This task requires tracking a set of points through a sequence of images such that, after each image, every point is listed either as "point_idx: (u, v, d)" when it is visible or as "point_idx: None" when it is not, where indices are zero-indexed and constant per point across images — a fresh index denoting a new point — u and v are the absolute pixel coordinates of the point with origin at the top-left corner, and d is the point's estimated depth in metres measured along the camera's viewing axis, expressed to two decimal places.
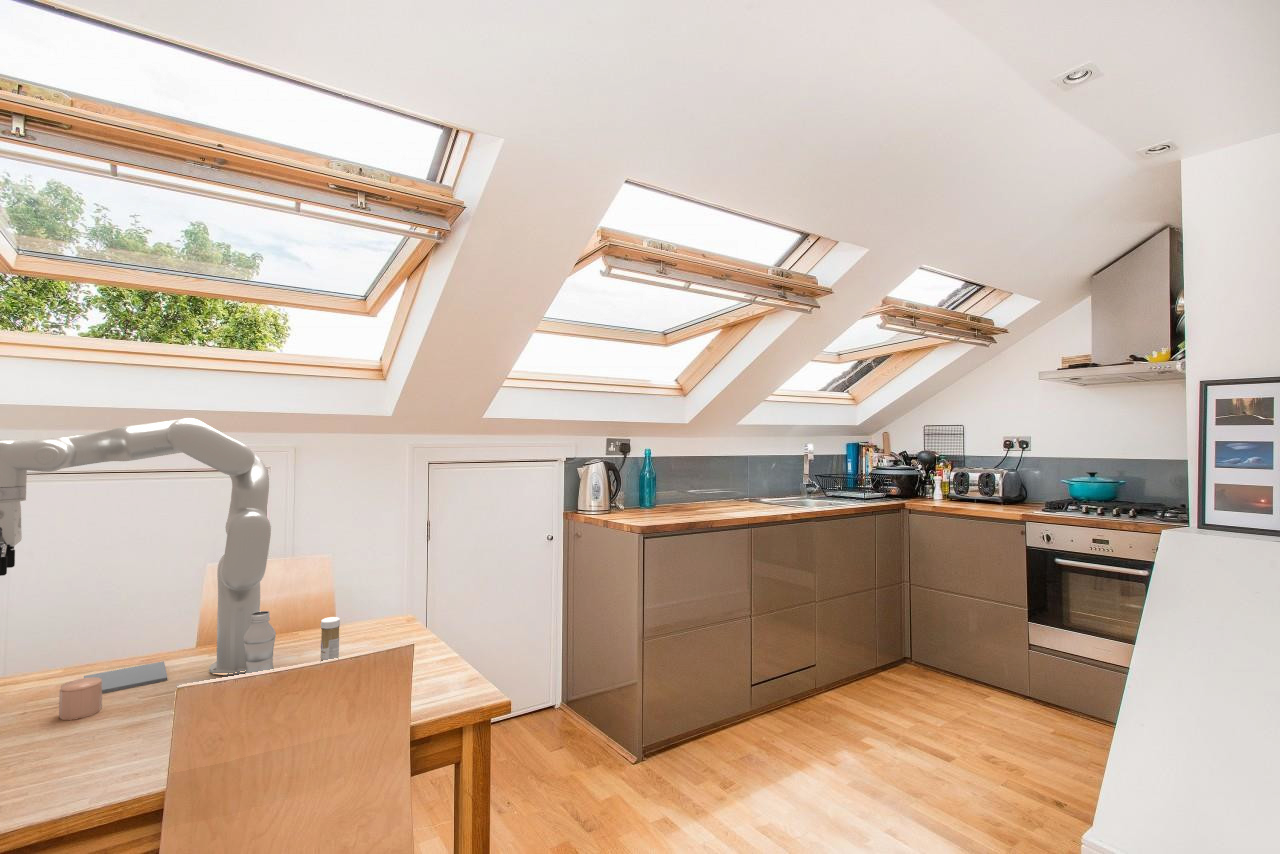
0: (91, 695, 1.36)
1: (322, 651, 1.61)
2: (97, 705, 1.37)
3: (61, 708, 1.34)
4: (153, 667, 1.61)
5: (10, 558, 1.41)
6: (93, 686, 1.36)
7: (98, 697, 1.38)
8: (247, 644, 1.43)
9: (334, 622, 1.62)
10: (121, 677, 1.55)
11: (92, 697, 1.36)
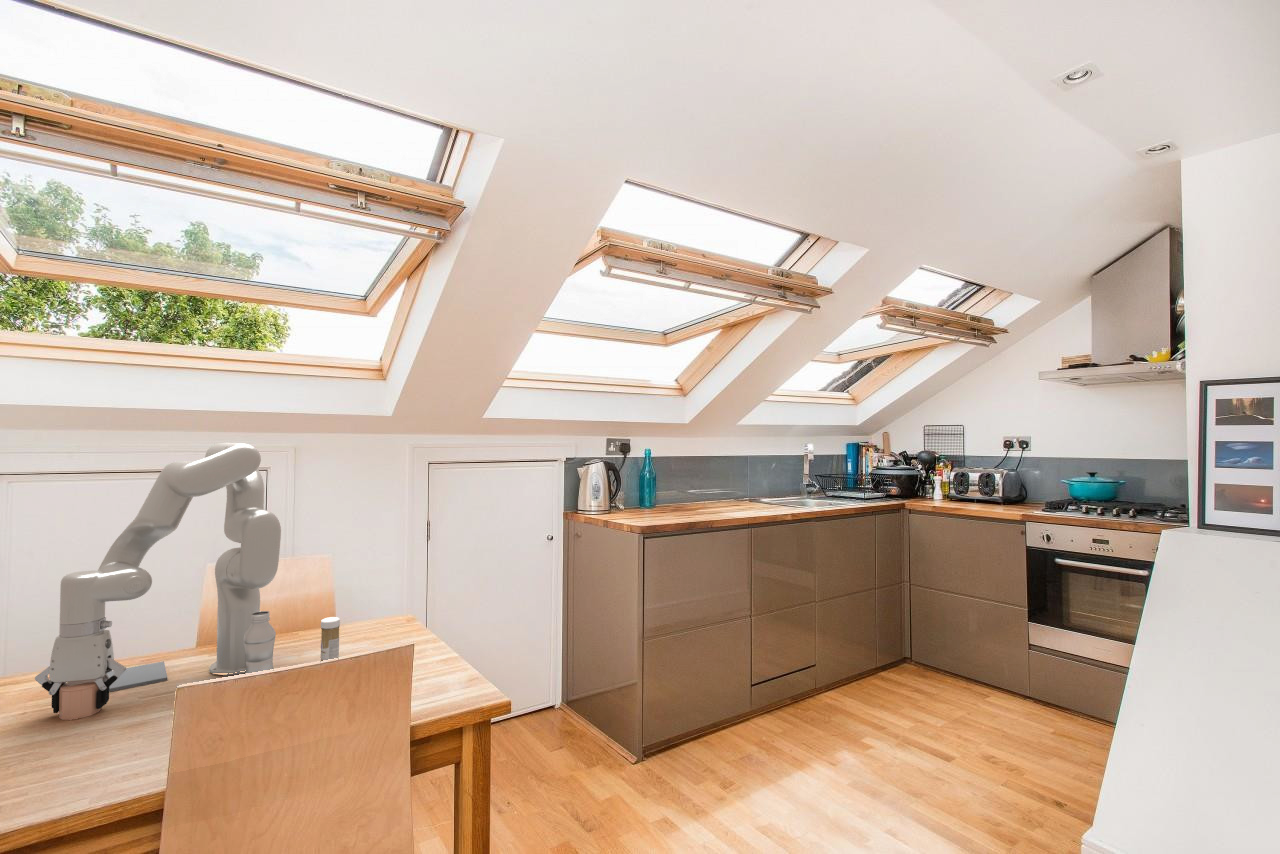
0: (91, 695, 1.36)
1: (322, 651, 1.61)
2: None
3: (61, 708, 1.34)
4: (153, 667, 1.61)
5: None
6: (93, 686, 1.36)
7: None
8: (247, 644, 1.43)
9: (334, 622, 1.62)
10: (121, 677, 1.55)
11: (92, 697, 1.36)
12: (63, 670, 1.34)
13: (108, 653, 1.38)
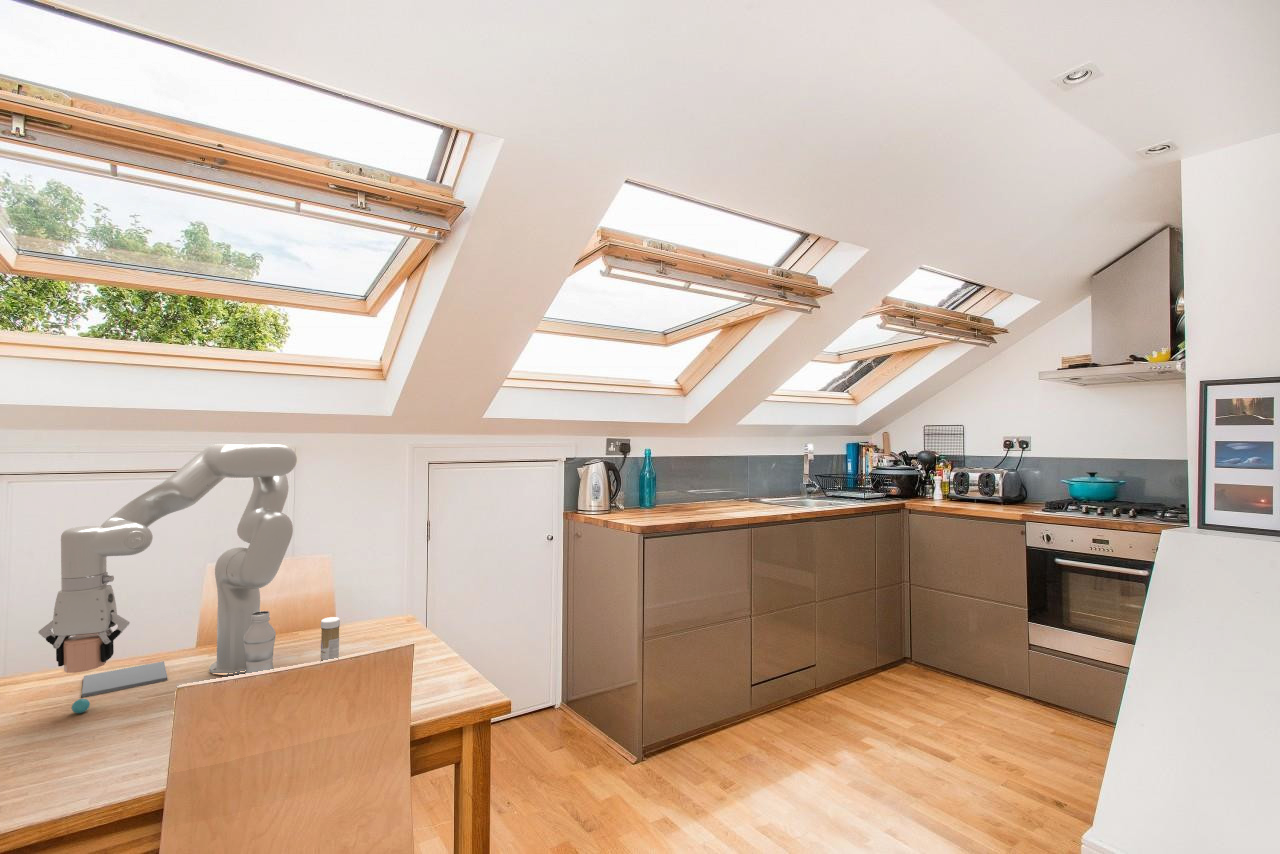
0: (95, 649, 1.36)
1: (322, 651, 1.61)
2: None
3: (66, 661, 1.34)
4: (153, 667, 1.61)
5: None
6: (97, 640, 1.37)
7: None
8: (247, 644, 1.43)
9: (334, 622, 1.62)
10: (121, 677, 1.55)
11: (96, 651, 1.37)
12: (66, 624, 1.35)
13: (110, 608, 1.39)
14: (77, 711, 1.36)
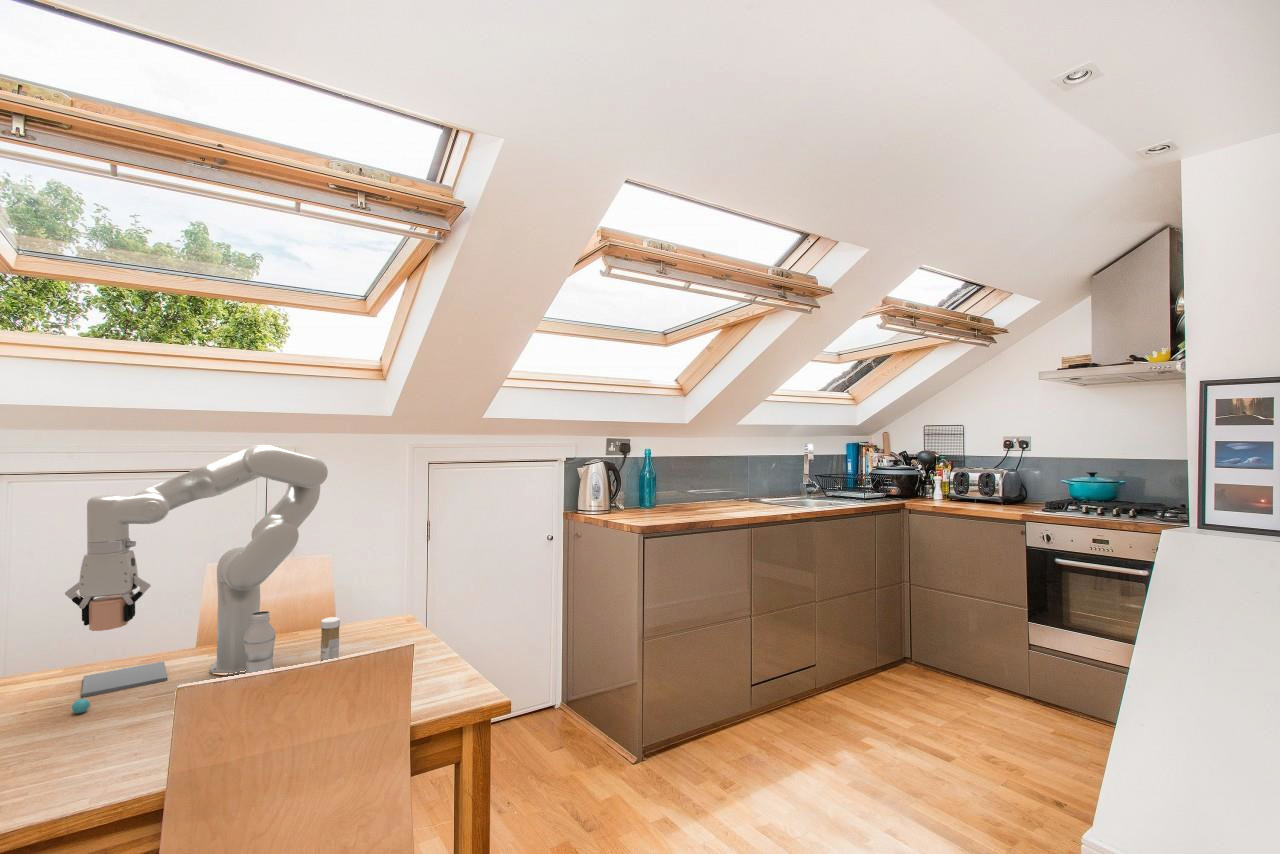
0: (119, 609, 1.46)
1: (322, 651, 1.61)
2: None
3: (91, 620, 1.44)
4: (153, 667, 1.61)
5: None
6: (120, 600, 1.46)
7: None
8: (247, 644, 1.43)
9: (334, 622, 1.62)
10: (121, 677, 1.55)
11: (120, 611, 1.46)
12: (92, 585, 1.44)
13: (133, 571, 1.48)
14: (77, 711, 1.36)
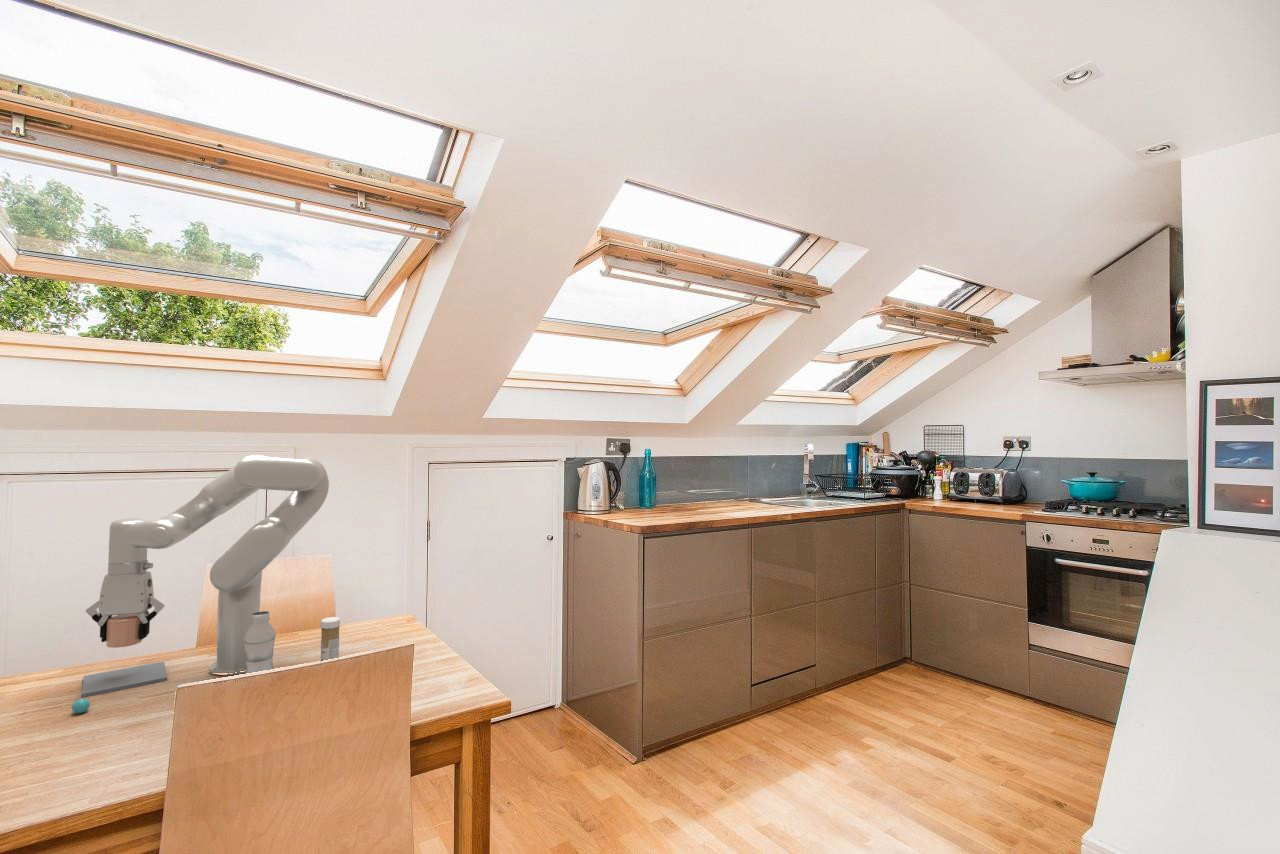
0: (134, 627, 1.54)
1: (322, 651, 1.61)
2: None
3: (108, 637, 1.52)
4: (153, 667, 1.61)
5: None
6: (136, 619, 1.55)
7: None
8: (247, 644, 1.43)
9: (334, 622, 1.62)
10: (121, 677, 1.55)
11: (135, 629, 1.54)
12: (111, 604, 1.52)
13: (149, 591, 1.56)
14: (77, 711, 1.36)
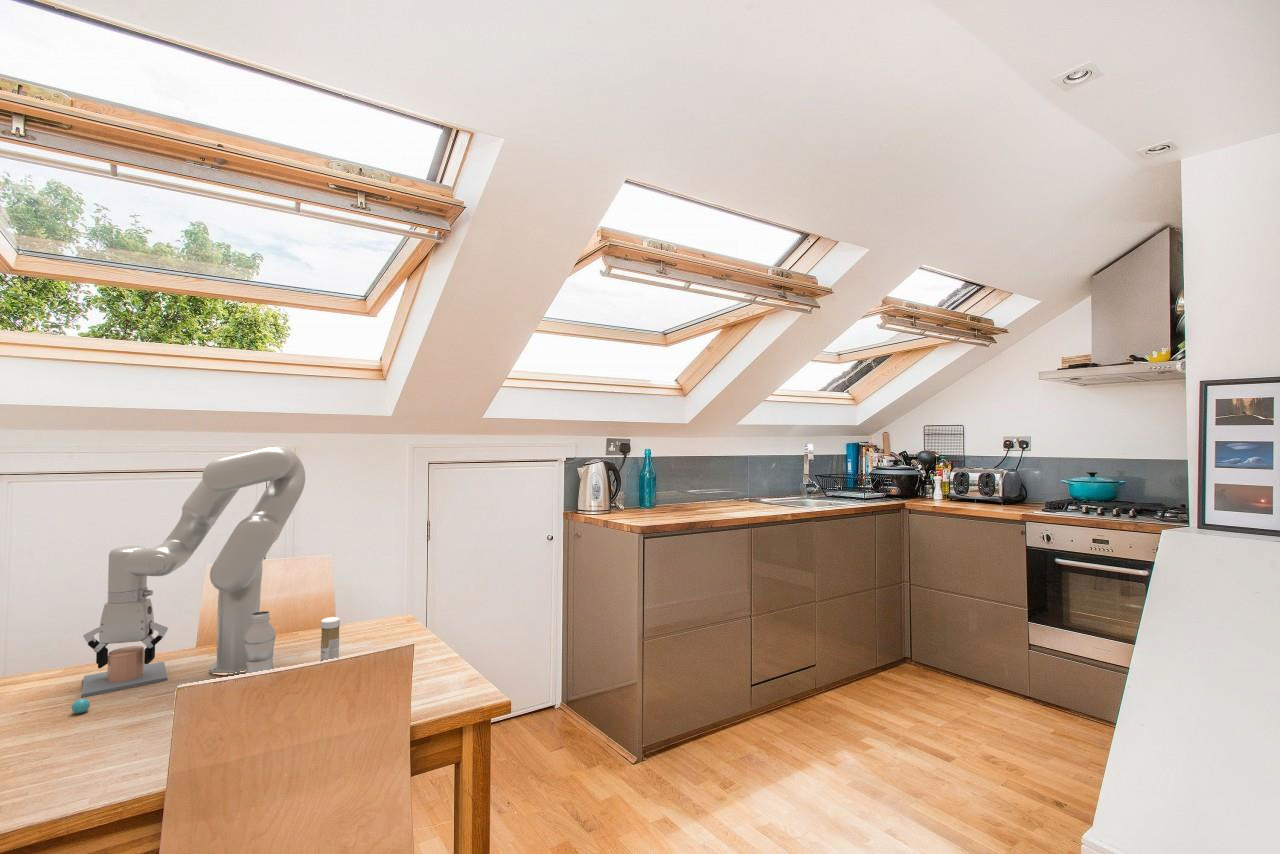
0: (135, 661, 1.54)
1: (322, 651, 1.61)
2: (140, 670, 1.56)
3: (109, 672, 1.52)
4: (153, 667, 1.61)
5: (106, 656, 1.55)
6: (137, 653, 1.55)
7: (141, 663, 1.56)
8: (247, 644, 1.43)
9: (334, 622, 1.62)
10: None
11: (136, 663, 1.54)
12: (111, 632, 1.52)
13: (149, 619, 1.56)
14: (77, 711, 1.36)
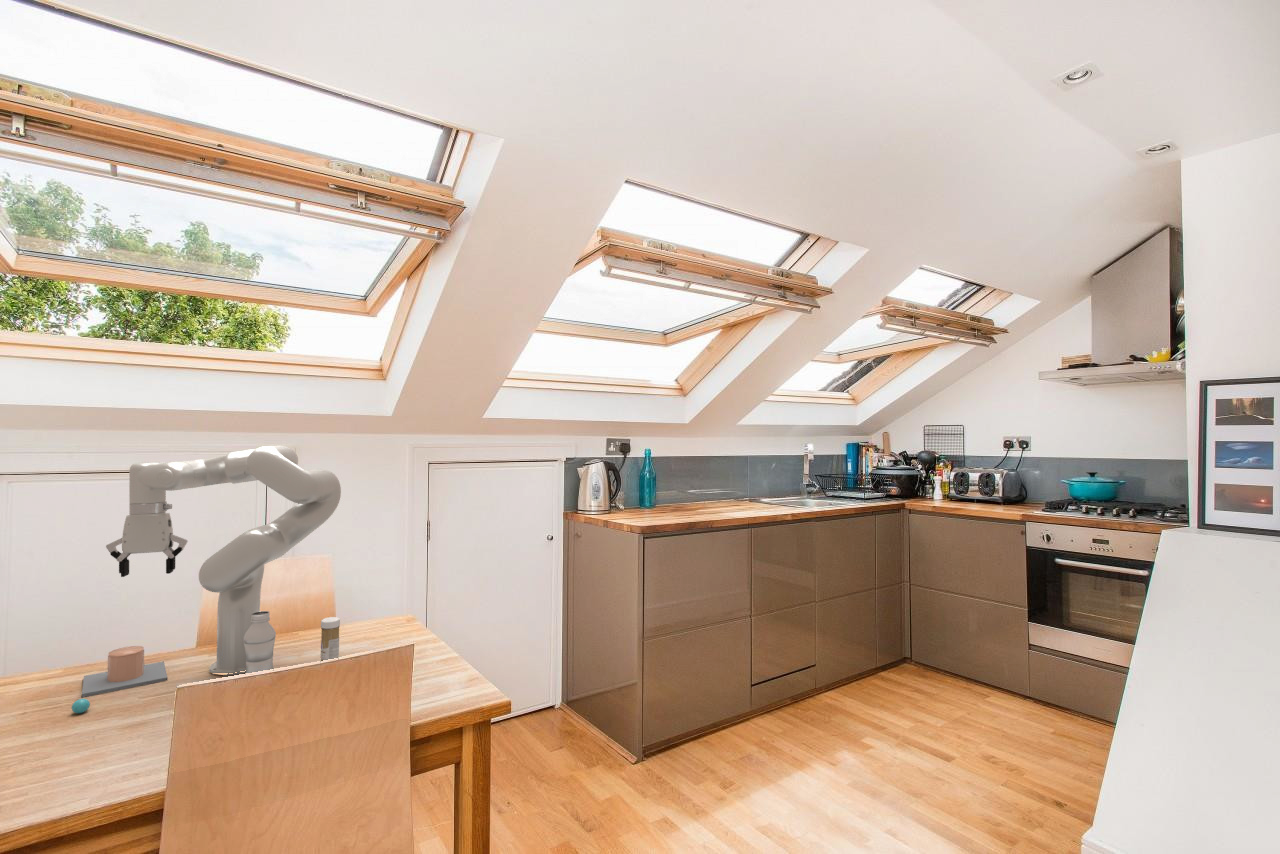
0: (135, 661, 1.54)
1: (322, 651, 1.61)
2: (140, 670, 1.56)
3: (109, 672, 1.52)
4: (153, 667, 1.61)
5: (128, 567, 1.62)
6: (137, 653, 1.55)
7: (141, 663, 1.56)
8: (247, 644, 1.43)
9: (334, 622, 1.62)
10: None
11: (136, 663, 1.54)
12: (134, 542, 1.60)
13: (169, 531, 1.64)
14: (77, 711, 1.36)
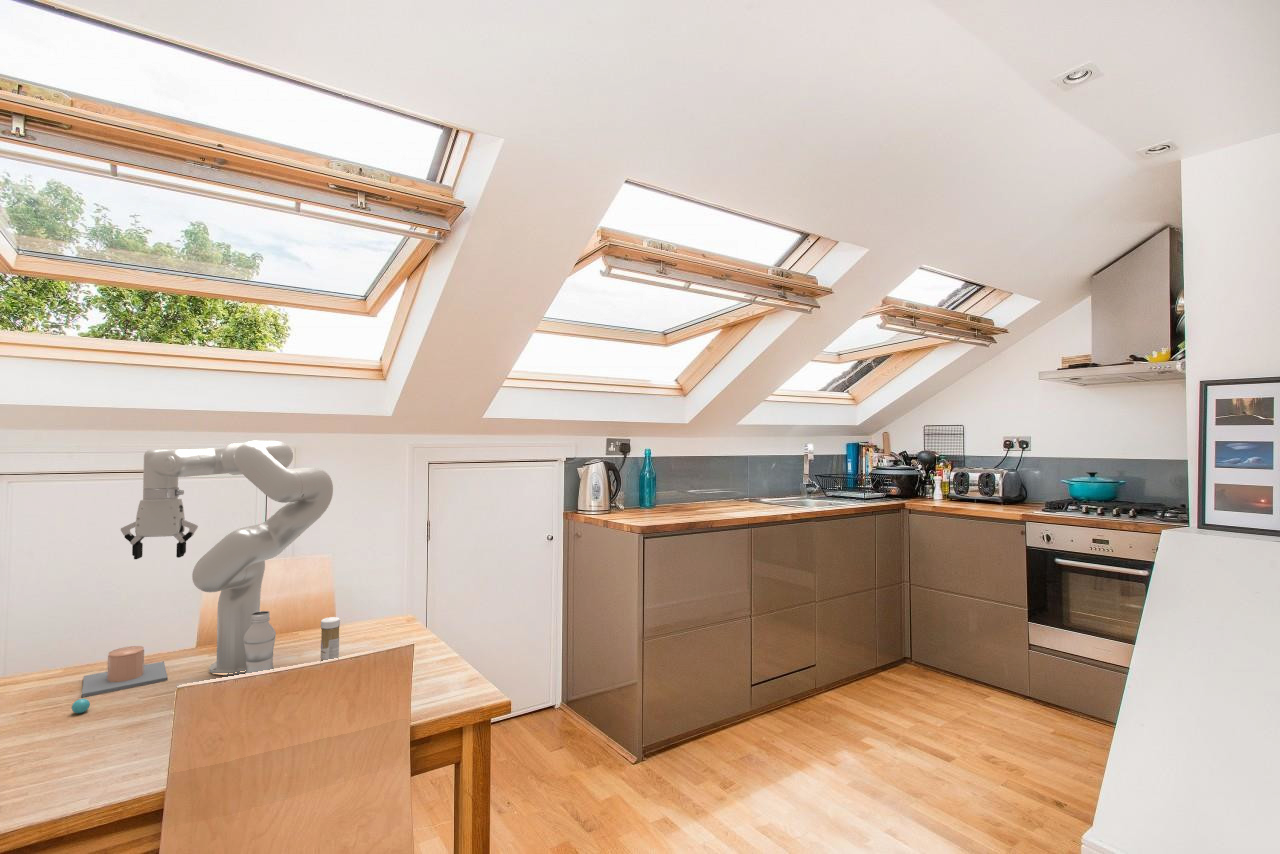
0: (135, 661, 1.54)
1: (322, 651, 1.61)
2: (140, 670, 1.56)
3: (109, 672, 1.52)
4: (153, 667, 1.61)
5: (141, 549, 1.67)
6: (137, 653, 1.55)
7: (141, 663, 1.56)
8: (247, 644, 1.43)
9: (334, 622, 1.62)
10: None
11: (136, 663, 1.54)
12: (146, 526, 1.65)
13: (181, 516, 1.69)
14: (77, 711, 1.36)
